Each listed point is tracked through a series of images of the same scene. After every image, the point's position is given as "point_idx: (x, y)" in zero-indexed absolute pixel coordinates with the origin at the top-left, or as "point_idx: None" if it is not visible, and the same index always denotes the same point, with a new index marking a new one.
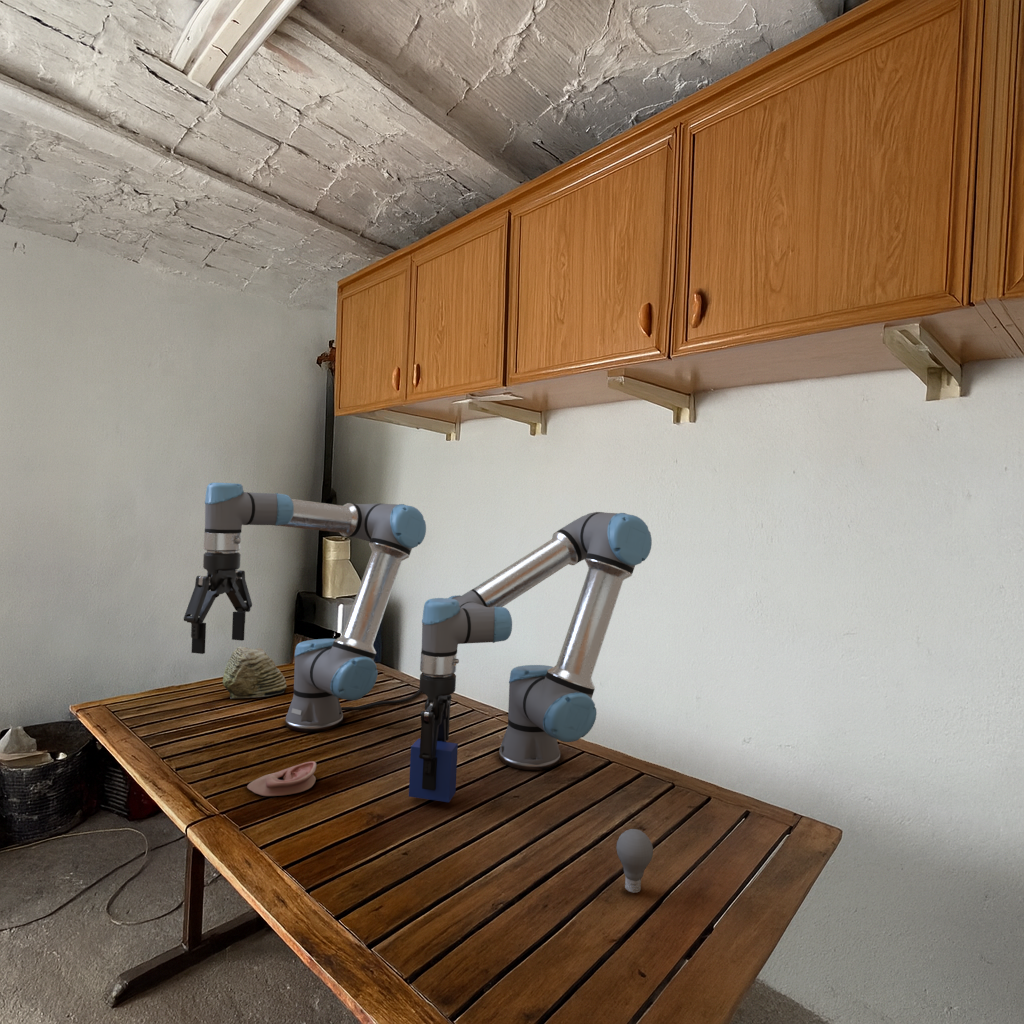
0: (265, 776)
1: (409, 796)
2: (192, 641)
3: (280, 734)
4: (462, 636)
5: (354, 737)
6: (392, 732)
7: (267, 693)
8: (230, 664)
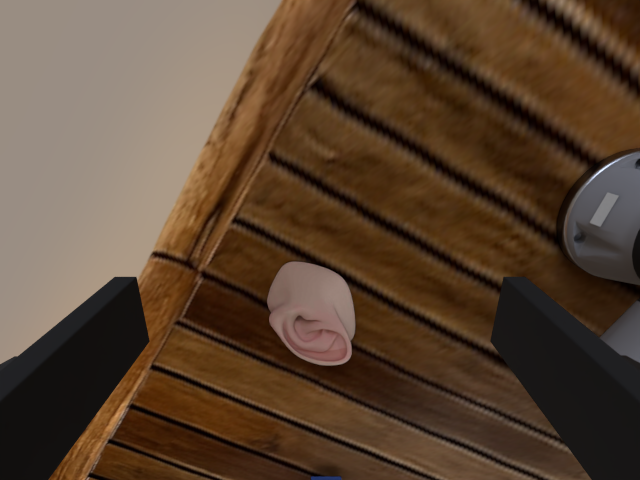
0: (303, 290)
1: (311, 477)
2: (69, 319)
3: (540, 180)
4: None
5: None
6: None
7: None
8: None
